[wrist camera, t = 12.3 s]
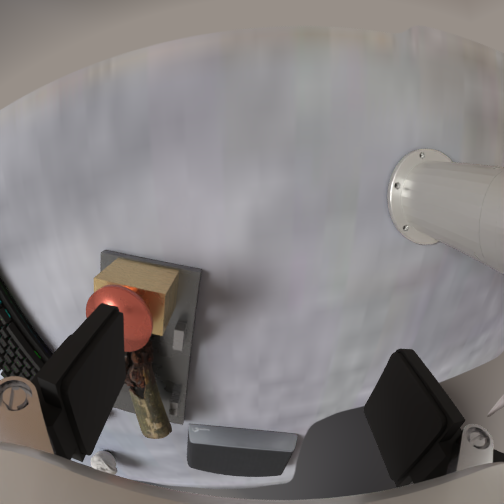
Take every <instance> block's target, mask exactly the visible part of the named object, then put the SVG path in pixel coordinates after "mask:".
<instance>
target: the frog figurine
mask: <svg viewBox="0 0 504 504" xmlns="http://www.w3.org/2000/svg"><path fill="white" fill-rule="evenodd" d="M91 465H92V467H93V468H94V469H97V470H100V471H103V472H106V473H110V474H113V475H115V474H116V473H117V468H116V461H115V458H114V456H113V455H112V454H111V453H109V452H107V451H99V452H97V453H96V454H95V455H94V456H93V457H92V458H91Z"/></svg>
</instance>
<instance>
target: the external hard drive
mask: <svg viewBox="0 0 504 504" xmlns="http://www.w3.org/2000/svg"><path fill="white" fill-rule="evenodd" d="M296 442H297V434H292V433H282V432H272V431H262V430H252V429H241V428H230V427H220V426H209V425H198V424H189V425H188V443H187V461H188V465H189V466H190V467H191V468H194V469H198V470H202V471H206V472H212V473H217V474H224V475H232V476H245V477H264V476H278V475H281V474H282V473H283V471H284V469H285V467H286V465H287V463H288V461H289V459H290V457H291V455H292V453H293V451H294V449H295V446H296Z"/></svg>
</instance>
